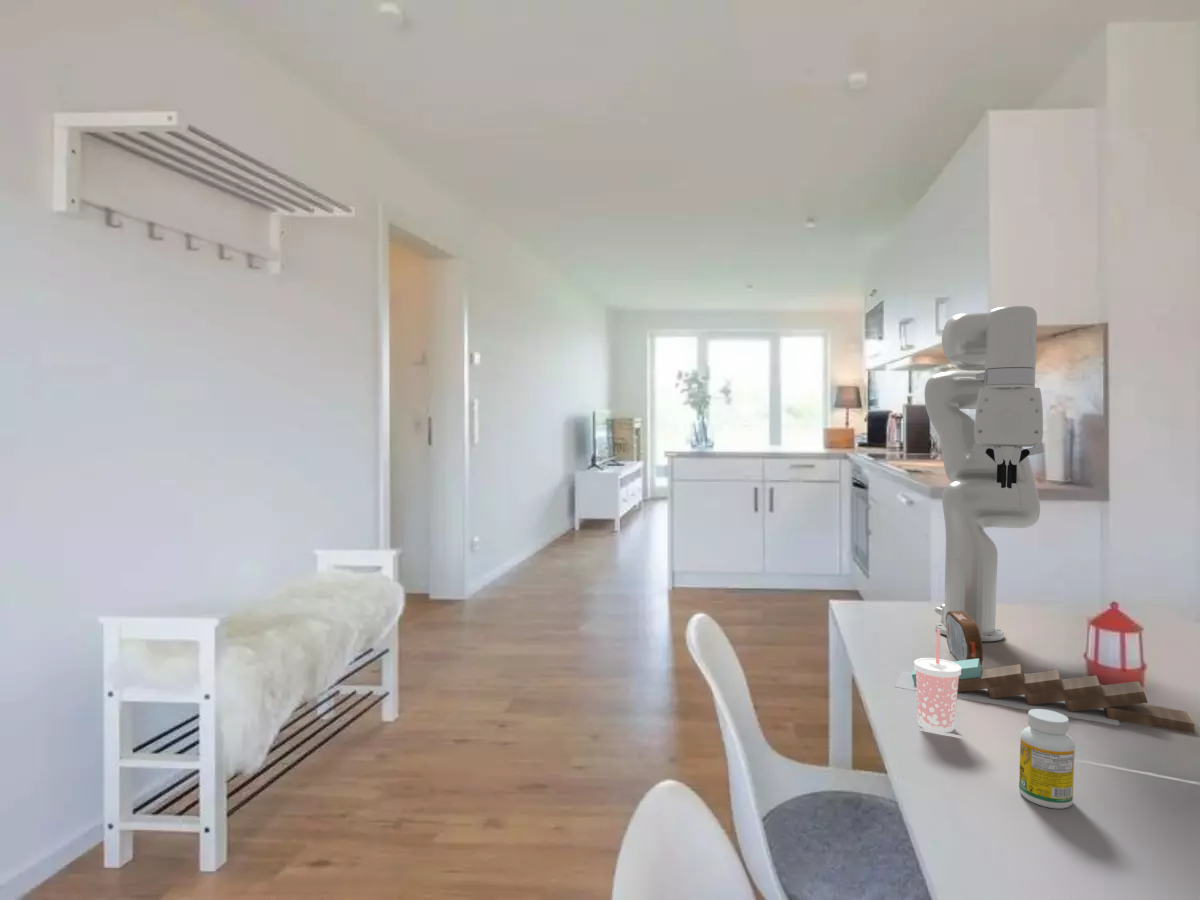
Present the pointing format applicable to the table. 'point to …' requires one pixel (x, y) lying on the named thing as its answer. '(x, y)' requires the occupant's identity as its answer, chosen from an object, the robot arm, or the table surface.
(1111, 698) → the domino
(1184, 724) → the domino
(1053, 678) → the domino
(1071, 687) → the domino
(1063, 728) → the supplement bottle
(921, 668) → the beverage cup
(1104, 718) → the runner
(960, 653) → the tin
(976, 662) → the domino
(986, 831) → the table surface
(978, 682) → the domino
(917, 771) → the table surface
